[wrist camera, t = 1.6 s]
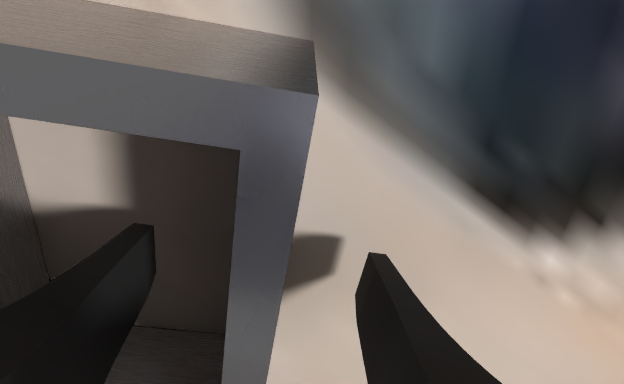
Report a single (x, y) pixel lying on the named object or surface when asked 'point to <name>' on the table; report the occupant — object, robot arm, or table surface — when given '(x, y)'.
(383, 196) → the table surface
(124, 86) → the gray open box
